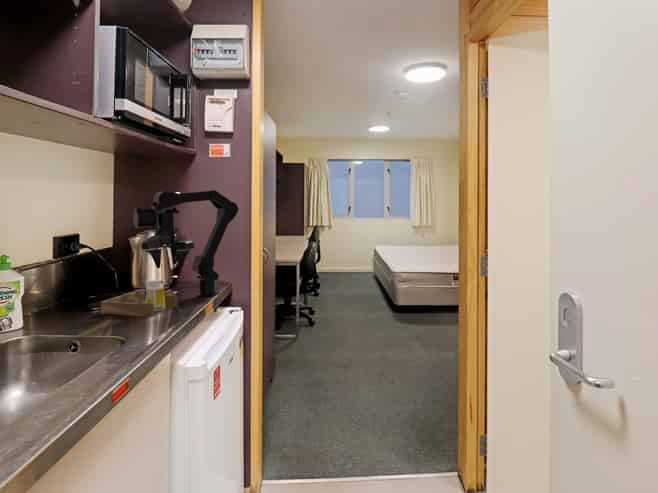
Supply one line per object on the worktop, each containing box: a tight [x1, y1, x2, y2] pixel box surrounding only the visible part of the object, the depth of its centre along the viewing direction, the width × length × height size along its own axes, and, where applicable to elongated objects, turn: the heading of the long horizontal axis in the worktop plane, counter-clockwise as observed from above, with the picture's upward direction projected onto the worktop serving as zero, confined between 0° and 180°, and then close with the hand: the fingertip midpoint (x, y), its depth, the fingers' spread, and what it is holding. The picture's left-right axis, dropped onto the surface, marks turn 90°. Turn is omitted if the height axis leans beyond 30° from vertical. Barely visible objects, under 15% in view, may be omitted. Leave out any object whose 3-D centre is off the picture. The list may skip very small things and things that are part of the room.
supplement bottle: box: [145, 279, 165, 312], centre depth 130 cm, size 6×6×10 cm
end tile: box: [153, 306, 176, 317], centre depth 130 cm, size 11×7×1 cm, turn 165°
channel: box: [99, 288, 178, 318], centre depth 135 cm, size 20×20×4 cm
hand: (169, 268), depth 141 cm, fingers open, 9 cm apart
